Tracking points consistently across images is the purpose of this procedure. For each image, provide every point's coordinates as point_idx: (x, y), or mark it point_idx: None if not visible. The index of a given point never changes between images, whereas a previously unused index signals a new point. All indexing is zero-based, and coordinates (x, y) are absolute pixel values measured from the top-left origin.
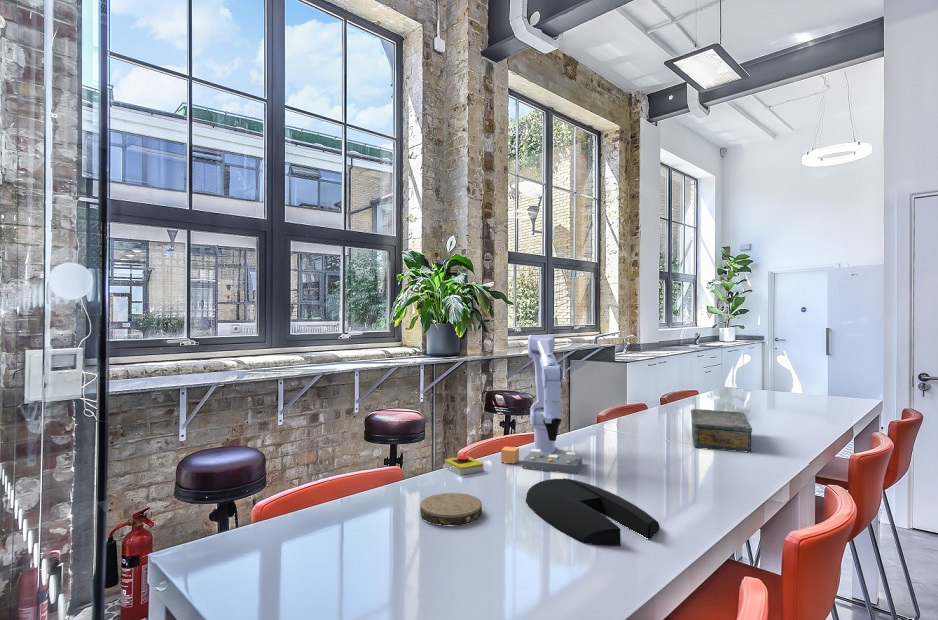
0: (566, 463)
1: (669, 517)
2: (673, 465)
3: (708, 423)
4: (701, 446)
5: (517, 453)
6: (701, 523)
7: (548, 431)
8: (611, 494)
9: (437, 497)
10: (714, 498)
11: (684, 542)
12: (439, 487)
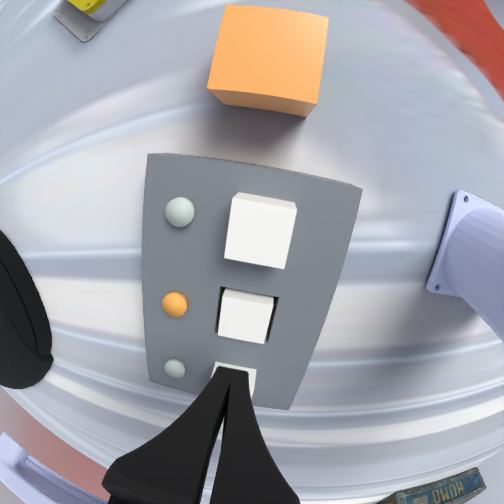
0: (165, 358)
1: (42, 408)
2: None
3: None
4: (391, 497)
5: (273, 102)
6: (50, 424)
7: (191, 418)
8: (1, 373)
9: None
10: None
11: (7, 388)
12: (9, 18)
